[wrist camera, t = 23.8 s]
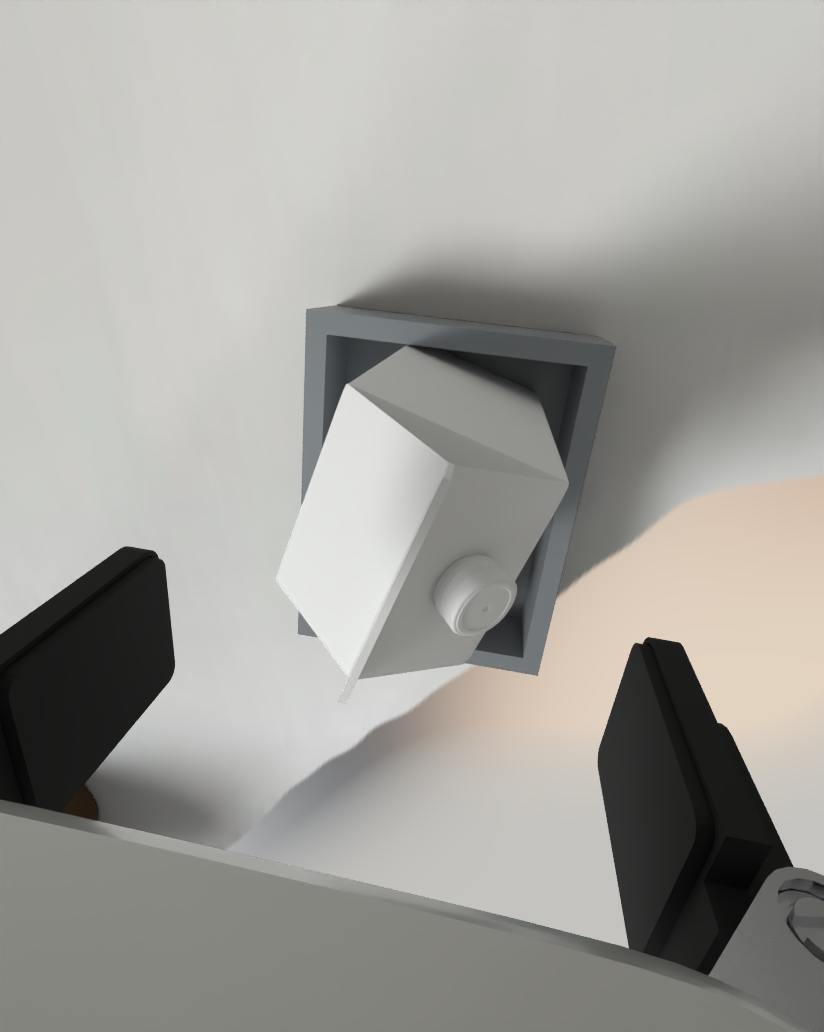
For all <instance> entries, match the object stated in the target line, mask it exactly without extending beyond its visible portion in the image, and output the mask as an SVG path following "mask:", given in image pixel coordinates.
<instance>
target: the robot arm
mask: <svg viewBox="0 0 824 1032" xmlns="http://www.w3.org/2000/svg"><path fill="white" fill-rule="evenodd" d="M174 669H175V658H174V648H173V639H172V629H171V619H170V609H169V599H168V589H167V579H166V569H165V564H164V562H163V560H161V559H159V558H158V555H157V554H156V552H154V551H152V550H146V549H140V548H134V547H123V548H121V549H119V550H118V551H116V552H115V553H114V554H112V555H111V556H109V557H108V558H107V559H105V560H104V561H102V562H101V563H100V564H98V565H97V566H95V567H94V568H93V569H91V570H90V571H88V572H87V573H86V574H84V575H83V576H82V577H80V578H79V579H77V580H76V581H75V582H73V583H72V584H70V585H69V586H68V587H66V588H65V589H63V590H62V591H61V592H59V593H58V594H56V595H55V596H54V597H52V598H51V599H49V600H48V601H47V602H45V603H44V604H42V605H41V606H40V607H38V608H37V609H35V610H34V611H33V612H31V613H30V614H28V615H27V616H26V617H24V618H23V619H21V620H20V621H19V622H17V623H16V624H14V625H13V626H12V627H10V628H9V629H7V630H6V631H5V632H3V633H2V634H0V1032H824V876H823V875H821V874H818V873H815V872H813V871H810V870H808V869H802V868H795V867H793V865H792V863H791V861H790V859H789V856H788V854H787V852H786V850H785V848H784V846H783V844H782V841H781V839H780V837H779V835H778V833H777V831H776V829H775V826H774V824H773V822H772V820H771V818H770V816H769V814H768V812H767V809H766V807H765V806H764V803H763V801H762V799H761V797H760V795H759V793H758V790H757V788H756V786H755V784H754V782H753V780H752V778H751V775H750V773H749V771H748V769H747V767H746V765H745V763H744V760H743V758H742V756H741V754H740V752H739V750H738V748H737V746H736V743H735V741H734V739H733V737H732V735H731V733H730V732H729V730H728V729H727V727H725V726H724V725H723V724H720V723H717V721H716V719H715V716H714V714H713V712H712V710H711V707H710V705H709V703H708V701H707V699H706V696H705V694H704V692H703V690H702V688H701V685H700V683H699V681H698V679H697V676H696V674H695V672H694V670H693V668H692V665H691V663H690V661H689V659H688V656H687V654H686V652H685V650H684V648H683V646H682V645H681V643H678V642H672V641H667V640H661V639H656V638H650V637H648V638H646V639H645V641H644V642H643V644H639V643H635V644H634V645H633V647H632V649H631V652H630V655H629V658H628V661H627V664H626V667H625V671H624V674H623V677H622V680H621V683H620V686H619V689H618V692H617V695H616V698H615V702H614V704H613V707H612V710H611V714H610V716H609V719H608V723H607V726H606V729H605V732H604V735H603V738H602V741H601V744H600V747H599V752H598V770H599V776H600V782H601V787H602V793H603V799H604V805H605V811H606V817H607V823H608V829H609V834H610V840H611V846H612V852H613V857H614V863H615V869H616V875H617V881H618V887H619V892H620V898H621V904H622V910H623V915H624V921H625V927H626V933H627V938H628V945H629V948H625V947H622V946H619V945H615V944H611V943H607V942H603V941H599V940H595V939H591V938H588V937H583V936H580V935H576V934H572V933H568V932H564V931H561V930H556V929H553V928H549V927H545V926H541V925H537V924H533V923H529V922H526V921H522V920H518V919H514V918H509V917H506V916H502V915H497V914H493V913H489V912H485V911H481V910H476V909H472V908H468V907H464V906H460V905H456V904H451V903H447V902H443V901H439V900H435V899H430V898H426V897H422V896H418V895H414V894H409V893H405V892H401V891H397V890H392V889H389V888H384V887H380V886H376V885H371V884H368V883H363V882H359V881H355V880H350V879H347V878H342V877H338V876H333V875H329V874H325V873H321V872H317V871H312V870H308V869H304V868H299V867H295V866H291V865H287V864H282V863H278V862H274V861H269V860H265V859H261V858H257V857H252V856H248V855H244V854H239V853H235V852H231V851H226V850H222V849H218V848H214V847H209V846H205V845H201V844H196V843H192V842H188V841H183V840H179V839H175V838H170V837H166V836H161V835H157V834H153V833H148V832H144V831H139V830H135V829H131V828H126V827H122V826H117V825H113V824H108V823H104V822H100V821H95V820H91V819H86V818H82V817H78V816H73V815H69V814H64V813H61V812H62V810H63V809H64V808H65V807H66V806H67V804H68V803H69V802H70V801H71V800H72V798H73V797H74V796H75V795H76V793H77V792H78V791H79V790H80V789H81V787H82V786H83V785H84V784H85V783H86V781H87V780H88V779H89V778H90V777H91V775H92V774H93V773H94V772H95V771H96V769H97V768H98V767H99V766H100V765H101V763H102V762H103V761H104V760H105V759H106V757H107V756H108V755H109V754H110V753H111V751H112V750H113V749H114V748H115V746H116V745H117V744H118V743H119V742H120V740H121V739H122V738H123V737H124V736H125V734H126V733H127V732H128V731H129V730H130V728H131V727H132V726H133V725H134V724H135V722H136V721H137V720H138V719H139V718H140V716H141V715H142V714H143V713H144V712H145V710H146V709H147V708H148V707H149V705H150V704H151V703H152V702H153V701H154V699H155V698H156V697H157V696H158V695H159V693H160V692H161V691H162V690H163V689H164V687H165V686H166V685H167V684H168V683H169V681H170V680H171V678H172V676H173V673H174Z"/></svg>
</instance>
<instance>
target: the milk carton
mask: <svg viewBox="0 0 824 1032" xmlns="http://www.w3.org/2000/svg"><path fill="white" fill-rule="evenodd" d="M568 485H569V481H568V478H567V475H566V472H565V469H564V466H563V463H562V461H561V458H560V455H559V452H558V449H557V447H556V444H555V441H554V438H553V436H552V433H551V430H550V427H549V424H548V422H547V419H546V416H545V413H544V411H543V408H542V405H541V402H540V399H539V397H538V394H537V393H536V392H534V391H532V390H530V389H528V388H526V387H523V386H521V385H519V384H517V383H514V382H512V381H510V380H508V379H506V378H503V377H501V376H499V375H497V374H495V373H492V372H490V371H488V370H486V369H483V368H481V367H479V366H477V365H475V364H472V363H470V362H468V361H466V360H464V359H461V358H459V357H457V356H455V355H453V354H450V353H448V352H446V351H444V350H441V349H439V348H432V347H424V346H416V345H406V346H405V347H403V348H402V349H400V350H399V351H397V352H396V353H394V354H392V355H391V356H389V357H388V358H386V359H385V360H383V361H382V362H380V363H379V364H377V365H376V366H374V367H373V368H371V369H370V370H368V371H367V372H365V373H364V374H362V375H361V376H359V377H358V378H356V379H355V380H353V381H352V382H350V383H349V384H346V386H345V388H344V390H343V393H342V395H341V398H340V400H339V403H338V406H337V408H336V411H335V414H334V417H333V420H332V422H331V425H330V428H329V431H328V434H327V436H326V439H325V442H324V445H323V448H322V450H321V453H320V456H319V459H318V462H317V464H316V467H315V470H314V473H313V476H312V478H311V481H310V484H309V487H308V489H307V492H306V495H305V498H304V501H303V503H302V506H301V509H300V512H299V515H298V517H297V520H296V523H295V526H294V529H293V531H292V534H291V537H290V540H289V543H288V545H287V548H286V551H285V554H284V557H283V560H282V562H281V565H280V568H279V571H278V575H277V582H278V584H279V585H280V586H281V588H282V589H283V590H284V592H285V593H286V594H287V596H288V597H289V598H290V600H291V601H292V603H293V604H294V605H295V607H296V608H297V609H298V611H299V612H300V613H301V615H302V616H303V617H304V619H305V620H306V621H307V623H308V624H309V625H310V627H311V628H312V630H313V631H314V632H315V634H316V635H317V636H318V638H319V639H320V640H321V642H322V643H323V644H324V646H325V647H326V648H327V650H328V651H329V652H330V654H331V655H332V656H333V658H334V659H335V661H336V662H337V663H338V665H339V666H340V667H341V669H342V670H343V671H344V673H345V674H346V675H347V677H348V678H347V680H346V683H345V685H344V688H343V691H342V693H341V696H340V698H339V701H338V702H339V703H342V704H346V703H347V701H348V699H349V697H350V694H351V692H352V690H353V688H354V686H355V684H356V682H357V680H358V679H364V678H371V677H378V676H385V675H392V674H399V673H406V672H413V671H420V670H427V669H433V668H440V667H447V666H454V665H460V664H465V663H466V662H467V661H468V660H469V658H470V657H471V655H472V654H473V652H474V650H475V649H476V647H477V646H478V644H479V642H480V641H481V639H482V637H483V635H484V634H485V632H486V631H488V630H489V629H491V628H493V627H494V626H495V625H496V624H498V623H499V622H500V621H501V620H502V619H503V618H504V616H505V615H506V614H507V613H508V611H509V610H510V608H511V607H512V605H513V603H514V601H515V598H516V594H517V585H516V583H515V580H516V579H517V577H518V575H519V573H520V572H521V570H522V568H523V567H524V565H525V563H526V561H527V560H528V558H529V556H530V554H531V553H532V551H533V549H534V548H535V546H536V544H537V542H538V541H539V539H540V537H541V536H542V534H543V532H544V530H545V529H546V527H547V525H548V523H549V522H550V520H551V518H552V516H553V515H554V513H555V511H556V509H557V508H558V506H559V504H560V502H561V500H562V498H563V497H564V495H565V493H566V491H567V489H568Z"/></svg>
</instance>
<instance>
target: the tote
mask: <svg viewBox="0 0 824 1032" xmlns="http://www.w3.org/2000/svg"><path fill="white" fill-rule="evenodd" d="M406 345H416V346H424V347H432V348H439V349H441V350H444V351H446V352H448V353H450V354H453V355H455V356H457V357H459V358H461V359H464V360H466V361H468V362H470V363H472V364H475V365H477V366H479V367H481V368H483V369H486V370H488V371H490V372H492V373H495V374H497V375H499V376H501V377H503V378H506V379H508V380H510V381H512V382H514V383H517V384H519V385H521V386H523V387H526V388H528V389H530V390H532V391H534V392H536V393H537V394H538V397H539V399H540V402H541V405H542V408H543V411H544V413H545V416H546V419H547V422H548V424H549V427H550V430H551V433H552V436H553V438H554V441H555V444H556V447H557V449H558V452H559V455H560V458H561V461H562V463H563V466H564V469H565V472H566V475H567V478H568V481H569V485H568V489H567V491H566V493H565V495H564V497H563V498H562V500H561V502H560V504H559V506H558V508H557V509H556V511H555V513H554V515H553V516H552V518H551V520H550V522H549V523H548V525H547V527H546V529H545V530H544V532H543V534H542V536H541V537H540V539H539V541H538V542H537V544H536V546H535V548H534V549H533V551H532V553H531V554H530V556H529V558H528V560H527V561H526V563H525V565H524V567H523V568H522V570H521V572H520V573H519V575H518V577H517V579H516V580H515V583H516V585H517V594H516V598H515V601H514V603H513V605H512V607H511V608H510V610H509V611H508V613H507V614H506V615H505V616H504V618H503V619H502V620H501V621H500V622H499V623H498V624H496V625H495V626H494V627H493V628H491V629H489V630H488V631H486V632H485V634H484V635H483V637H482V639H481V641H480V642H479V644H478V646H477V647H476V649H475V650H474V652H473V654H472V655H471V657H470V658H469V660H468V661H467V662H466V663H468V664H474V665H479V666H485V667H491V668H497V669H502V670H508V671H515V672H520V673H525V674H532V675H537V676H538V672H539V668H540V663H541V659H542V655H543V651H544V647H545V643H546V639H547V634H548V630H549V626H550V622H551V618H552V613H553V609H554V605H555V601H556V597H557V592H558V588H559V584H560V580H561V576H562V571H563V567H564V563H565V559H566V555H567V550H568V546H569V542H570V538H571V534H572V529H573V525H574V521H575V517H576V513H577V508H578V504H579V500H580V496H581V492H582V488H583V483H584V479H585V475H586V471H587V467H588V462H589V458H590V454H591V450H592V446H593V441H594V437H595V433H596V429H597V425H598V420H599V416H600V412H601V408H602V404H603V399H604V395H605V391H606V387H607V383H608V378H609V374H610V370H611V366H612V362H613V357H614V353H615V349H616V346H615V345H613V344H611V343H609V342H607V341H605V340H603V339H601V338H600V337H598V336H589V335H581V334H572V333H564V332H555V331H547V330H539V329H530V328H522V327H513V326H505V325H496V324H488V323H479V322H471V321H462V320H454V319H445V318H437V317H428V316H420V315H411V314H403V313H394V312H386V311H377V310H369V309H361V308H352V307H344V306H328V307H320V308H312V309H306V343H305V382H304V421H303V460H302V500H301V506H302V503H303V501H304V498H305V495H306V492H307V489H308V487H309V484H310V481H311V478H312V476H313V473H314V470H315V467H316V464H317V462H318V459H319V456H320V453H321V450H322V448H323V445H324V442H325V439H326V436H327V434H328V431H329V428H330V425H331V422H332V420H333V417H334V414H335V411H336V408H337V406H338V403H339V400H340V398H341V395H342V393H343V390H344V388H345V386H346V384H349V383H350V382H352V381H353V380H355V379H356V378H358V377H359V376H361V375H362V374H364V373H365V372H367V371H368V370H370V369H371V368H373V367H374V366H376V365H377V364H379V363H380V362H382V361H383V360H385V359H386V358H388V357H389V356H391V355H392V354H394V353H396V352H397V351H399V350H400V349H402V348H403V347H405V346H406ZM298 634H301V635H307V636H312V637H318V636H317V635H316V634H315V632H314V631H313V630H312V628H311V627H310V625H309V624H308V623H307V621H306V620H305V619H304V617H303V616H302V615H301V613H300V612H299V617H298Z"/></svg>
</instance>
